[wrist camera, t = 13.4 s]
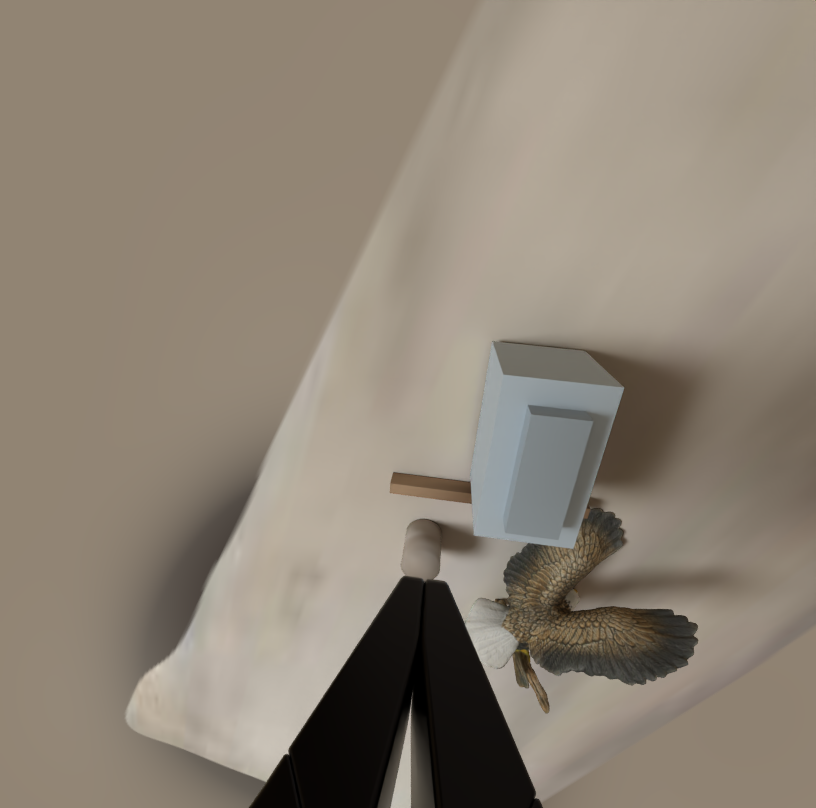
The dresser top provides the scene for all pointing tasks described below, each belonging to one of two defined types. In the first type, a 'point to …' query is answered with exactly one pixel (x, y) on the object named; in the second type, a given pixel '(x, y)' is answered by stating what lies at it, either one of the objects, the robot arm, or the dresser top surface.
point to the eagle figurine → (575, 618)
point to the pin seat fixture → (428, 521)
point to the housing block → (539, 442)
